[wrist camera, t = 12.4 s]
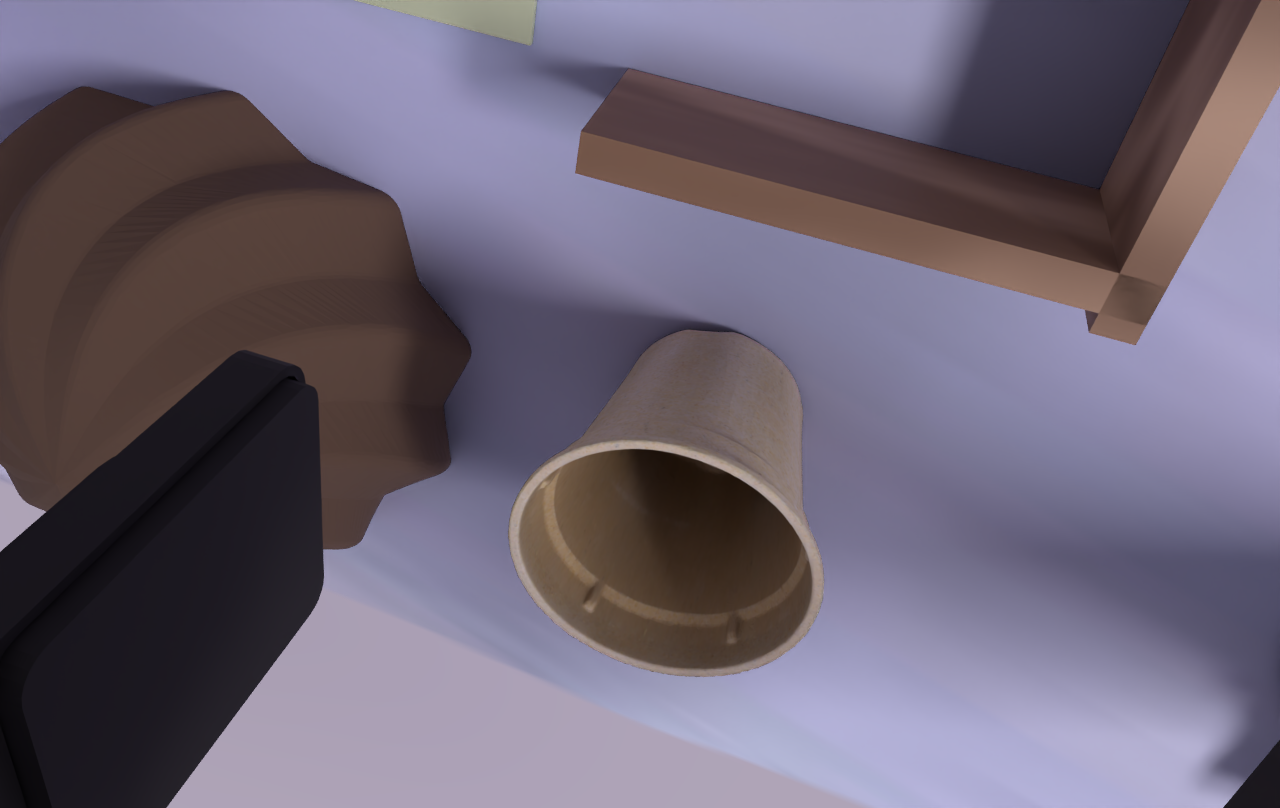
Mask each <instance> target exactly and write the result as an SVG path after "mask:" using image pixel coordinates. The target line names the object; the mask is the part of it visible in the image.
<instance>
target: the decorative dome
mask: <svg viewBox="0 0 1280 808" xmlns="http://www.w3.org/2000/svg"><path fill="white" fill-rule="evenodd" d="M241 350H248V351H251V352H254V353H258V354H261V355H264V356H267V357H271V358H274V359H277V360H280V361H284V362H287V363H290V364H293V365H296V366H298V367H300V368H301V369H302V371H303V373H304V375H305V382H306V384H308V385H311V386H313V387H315V389H316V391H317V393H318V400H319V433H320V466H321V498H322V531H323V549H346V548H350V547H353V546H355V545H357V544H358V543H359V542H360V541H361V540H362V539H363V537H364V535H365V532H366V530H367V528H368V526H369V523H370V521H371V519H372V517H373V515H374V513H375V511H376V509H377V507H378V505H379V504H380V502H381V500H382V498H383V497H384V495H386V494H388V493H390V492H393V491H395V490H398V489H400V488H403V487H405V486H408V485H410V484H413V483H416V482H419V481H421V480H424V479H427V478H430V477H433V476H436V475H438V474H441V473H442V472H444V471H445V470H446V469H447V468H448V467H449V465H450V463H451V457H450V449H449V441H448V434H447V428H446V421H445V414H444V403H445V401H446V399H447V398H448V396H449V394H450V392H451V391H452V389H453V387H454V385H455V384H456V382H457V380H458V379H459V377H460V375H461V374H462V372H463V370H464V368H465V367H466V365H467V363H468V361H469V359H470V357H471V347H470V344H469V342H468V340H467V339H466V337H465V336H464V335H463V334H462V333H461V332H460V330H459V329H458V328H457V327H456V326H455V324H454V323H453V322H452V321H451V320H450V318H449V317H448V316H447V315H446V314H445V312H444V311H443V310H442V309H441V308H440V306H439V305H438V304H437V303H436V302H435V300H434V299H433V298H432V297H431V296H430V295H429V293H428V292H427V291H426V290H425V288H424V287H423V286H422V285H421V283H420V281H419V279H418V277H417V273H416V269H415V266H414V262H413V258H412V254H411V250H410V247H409V243H408V239H407V235H406V231H405V228H404V224H403V220H402V216H401V212H400V209H399V207H398V206H397V204H396V202H395V201H394V200H393V199H392V198H391V197H390V196H389V195H387V194H386V193H384V192H383V191H380V190H378V189H375V188H373V187H371V186H368V185H366V184H363V183H361V182H358V181H356V180H353V179H351V178H348V177H346V176H344V175H341V174H339V173H336V172H334V171H332V170H329V169H327V168H324V167H322V166H319V165H317V164H314V163H312V162H310V161H309V160H307V159H306V158H305V157H304V156H303V155H302V154H301V153H300V152H299V150H298V149H297V148H296V147H295V146H294V145H293V144H292V143H291V142H290V141H289V140H288V139H287V138H286V137H285V136H284V135H283V134H282V133H281V132H280V131H279V130H278V129H277V128H276V127H275V126H274V125H273V124H272V123H271V122H270V121H269V120H268V119H267V118H266V117H265V116H264V115H263V114H262V113H261V112H260V111H259V110H258V109H257V108H256V107H255V106H254V105H253V104H252V103H251V102H250V101H249V100H248V99H247V98H245V97H244V96H242V95H241V94H239V93H236V92H233V91H220V92H214V93H209V94H204V95H199V96H194V97H189V98H184V99H180V100H176V101H173V102H169V103H165V104H161V105H157V106H151V105H148V104H144V103H141V102H138V101H134V100H131V99H128V98H125V97H121V96H118V95H115V94H111V93H108V92H105V91H101V90H98V89H95V88H91V87H79V88H77V89H75V90H73V91H71V92H69V93H68V94H66V95H64V96H63V97H61V98H60V99H58V100H56V101H55V102H53V103H52V104H50V105H48V106H47V107H45V108H44V109H43V110H41V111H40V112H38V113H37V114H36V115H34V116H33V117H31V118H30V119H29V120H27V121H26V122H25V123H24V124H22V125H21V126H20V127H19V128H18V129H16V130H15V131H14V132H13V133H12V134H11V135H9V136H8V137H7V138H6V139H5V140H4V141H3V142H2V143H1V144H0V464H1V465H2V466H3V467H4V468H5V469H6V471H7V473H8V475H9V476H10V478H11V480H12V482H13V484H14V486H15V488H16V490H17V491H18V493H19V495H20V496H21V497H22V499H23V500H25V501H26V502H27V503H28V504H30V505H32V506H35V507H37V508H39V509H42V510H44V511H46V512H47V511H48V510H49V509H50V508H52V507H53V506H54V505H55V504H56V503H57V502H58V501H60V500H61V499H62V498H63V497H64V496H65V495H66V494H68V493H69V492H70V491H71V490H72V489H73V488H75V487H76V486H77V485H78V484H79V483H80V482H81V481H83V480H84V479H85V478H86V477H87V476H88V475H90V474H91V473H92V472H93V471H94V470H95V469H96V468H98V467H99V466H100V465H102V464H103V463H105V462H106V461H108V460H109V459H111V458H112V457H115V456H116V455H117V454H118V453H120V452H121V451H122V450H123V449H124V448H125V447H127V446H128V445H129V444H130V443H131V442H132V441H133V440H135V439H136V438H137V437H138V436H139V435H140V434H141V433H143V432H144V431H145V430H146V429H147V428H148V427H149V426H151V425H152V424H153V423H154V422H155V421H156V420H157V419H159V418H160V417H161V416H162V415H163V414H164V413H166V412H167V411H168V410H169V409H170V408H171V407H172V406H174V405H175V404H176V403H177V402H178V401H179V400H180V399H182V398H183V397H184V396H185V395H186V394H187V393H188V392H190V391H191V390H192V389H193V388H194V387H195V386H197V385H198V384H199V383H200V382H201V381H202V380H203V379H205V378H206V377H207V376H208V375H209V374H210V373H211V372H213V371H214V370H215V369H216V368H217V367H218V366H219V365H221V364H222V363H223V362H224V361H225V360H226V359H227V358H229V357H230V356H231V355H233V354H234V353H236V352H237V351H241Z"/></svg>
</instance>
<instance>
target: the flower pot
mask: <svg viewBox="0 0 1280 808" xmlns="http://www.w3.org/2000/svg"><path fill="white" fill-rule="evenodd" d="M802 421H803V409H802V403H801V397H800V393H799V389H798V386H797V384H796V382H795V380H794V378H793V376H792V375H791V373H790V371H789V370H788V369H787V367H786V366H785V364H784V363H783V362H782V361H781V360H780V359H779V358H778V357H777V356H776V355H775V354H773V353H772V352H771V351H770V350H768V349H767V348H766V347H764V346H763V345H761V344H759V343H758V342H756V341H754V340H752V339H750V338H748V337H746V336H743V335H741V334H738V333H735V332H710V331H697V330H690V329H689V330H683V331H679V332H676V333H673V334H671V335H668V336H666V337H664V338H662V339H660V340H658V341H657V342H655V343H654V344H652V345H651V346H650V347H649V348H648V349H647V350H646V351H645V352H644V353H643V354H642V355H641V356H640V357H639V359H638V360H637V362H636V363H635V365H634V367H633V368H632V369H631V371H630V372H629V374H628V375H627V377H626V378H625V379H624V381H623V382H622V384H621V385H620V386H619V388H618V389H617V390H616V392H615V393H614V394H613V396H612V397H611V399H610V400H609V401H608V403H607V404H606V405H605V407H604V408H603V409H602V411H601V412H600V413H599V415H598V416H597V417H596V419H595V420H594V421H593V423H592V424H591V425H590V427H589V428H588V429H587V431H586V432H585V433H584V435H583V436H582V437H581V438H580V439H578V440H577V441H575V442H574V443H572V444H571V445H570V446H569V447H567V448H566V449H565V450H563V451H561V452H559V453H558V454H556V455H554V456H553V457H551V458H550V459H549V460H547V461H546V462H545V463H543V464H542V465H541V466H540V467H539V468H538V469H537V470H535V471H534V472H533V474H532V475H531V476H530V477H529V479H528V480H527V481H526V483H525V484H524V486H523V487H522V489H521V490H520V492H519V494H518V496H517V498H516V500H515V502H514V504H513V507H512V511H511V515H510V520H509V530H508V538H509V546H510V551H511V556H512V559H513V562H514V565H515V569H516V572H517V574H518V577H519V578H520V580H521V581H522V584H523V585H524V587H525V589H526V590H527V592H528V594H529V595H530V596H531V597H532V599H533V600H534V602H535V603H536V604H537V606H538V607H540V609H542V610H543V611H544V613H545V614H546V615H547V616H549V617H550V619H551V620H552V621H553V622H554V623H555V624H556V625H558V626H560V627H561V628H562V629H563V630H564V631H565V632H566V633H567V634H568V635H571V636H573V638H577V639H578V640H579V641H580V642H582V643H584V644H586V645H588V646H589V647H591V648H593V649H594V650H597V651H598V652H600V653H603V654H605V655H607V656H609V657H611V658H613V659H616V660H618V661H620V662H623V663H625V664H630V665H632V666H634V667H638V668H641V669H646V670H650V671H652V672H659V673H662V674H668V675H676V676H695V677H700V676H702V677H708V676H725V675H730V674H738V673H741V672H743V671H749V670H751V669H755V668H759V667H761V666H763V665H765V664H768V663H770V662H772V661H774V660H776V659H777V658H779V657H781V656H782V655H783V654H785V653H786V652H788V651H789V650H790V649H792V648H793V647H794V646H795V645H796V644H797V643H798V642H799V641H800V640H801V639H802V638H803V637H804V636H805V635H806V634H807V632H808V631H809V629H810V627H811V626H812V624H813V622H814V620H815V618H816V617H817V615H818V613H819V610H820V607H821V603H822V599H823V590H824V572H823V565H822V560H821V555H820V552H819V549H818V547H817V544H816V541H815V539H814V537H813V535H812V533H811V531H810V528H809V525H808V521H807V518H806V515H805V513H804V510H803V489H802Z"/></svg>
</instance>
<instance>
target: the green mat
mask: <svg viewBox="0 0 1280 808" xmlns="http://www.w3.org/2000/svg"><path fill="white" fill-rule="evenodd" d="M355 1H359V2H363V3H367V4H371V5H375V6H378V7H382V8H386V9H390V10H394V11H398V12H402V13H406V14H409V15H413V16H417V17H421V18H425V19H429V20H433V21H437V22H440V23H444V24H448V25H452V26H456V27H460V28H464V29H468V30H472V31H475V32H479V33H483V34H487V35H491V36H495V37H499V38H503V39H506V40H510V41H514V42H518V43H522V44H526V45H530V46H531V45H532V44H533V34H534V25H535V15H536V5H537V0H355Z"/></svg>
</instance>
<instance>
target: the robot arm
mask: <svg viewBox="0 0 1280 808" xmlns="http://www.w3.org/2000/svg"><path fill="white" fill-rule="evenodd" d="M323 581H324V564H323V531H322V498H321V466H320V433H319V400H318V393H317V391H316V389H315V387H313V386H311V385H308V384H306V382H305V375H304V373H303V371H302V369H301V368H300V367H298V366H296V365H293V364H290V363H287V362H284V361H280V360H277V359H274V358H271V357H267V356H264V355H261V354H258V353H254V352H251V351H248V350H241V351H237V352H236V353H234V354H233V355H231V356H230V357H229V358H227V359H226V360H225V361H224V362H223V363H222V364H221V365H219V366H218V367H217V368H216V369H215V370H214V371H213V372H211V373H210V374H209V375H208V376H207V377H206V378H205V379H203V380H202V381H201V382H200V383H199V384H198V385H197V386H195V387H194V388H193V389H192V390H191V391H190V392H188V393H187V394H186V395H185V396H184V397H183V398H182V399H180V400H179V401H178V402H177V403H176V404H175V405H174V406H172V407H171V408H170V409H169V410H168V411H167V412H166V413H164V414H163V415H162V416H161V417H160V418H159V419H157V420H156V421H155V422H154V423H153V424H152V425H151V426H149V427H148V428H147V429H146V430H145V431H144V432H143V433H141V434H140V435H139V436H138V437H137V438H136V439H135V440H133V441H132V442H131V443H130V444H129V445H128V446H127V447H125V448H124V449H123V450H122V451H121V452H120V453H118V454H117V455H116V456H115V457H112V458H111V459H109V460H108V461H106V462H105V463H103V464H102V465H100V466H99V467H98V468H96V469H95V470H94V471H93V472H92V473H91V474H90V475H88V476H87V477H86V478H85V479H84V480H83V481H81V482H80V483H79V484H78V485H77V486H76V487H75V488H73V489H72V490H71V491H70V492H69V493H68V494H66V495H65V496H64V497H63V498H62V499H61V500H60V501H58V502H57V503H56V504H55V505H54V506H53V507H52V508H50V509H49V510H48V511H47V512H46V513H45V514H44V515H42V516H41V517H40V518H39V519H38V520H37V521H35V522H34V523H33V524H32V525H31V526H30V527H28V529H26V530H25V531H24V532H23V533H22V534H21V535H19V536H18V537H17V538H16V539H15V540H13V541H12V542H11V543H10V544H9V545H8V546H7V547H5V548H4V549H3V550H2V551H1V552H0V808H166V807H167V806H168V805H169V803H170V802H171V801H172V799H173V798H174V796H175V795H176V794H177V793H178V791H179V790H180V789H181V787H182V786H183V785H184V783H185V782H186V781H187V779H188V778H189V776H190V775H191V774H192V772H193V771H194V770H195V768H196V767H197V766H198V764H199V763H200V762H201V760H202V759H203V758H204V756H205V755H206V754H207V752H208V751H209V750H210V748H211V747H212V746H213V744H214V743H215V742H216V740H217V739H218V738H219V736H220V735H221V734H222V732H223V731H224V729H225V728H226V727H227V725H228V724H229V723H230V721H231V720H232V719H233V717H234V716H235V715H236V713H237V712H238V711H239V709H240V708H241V707H242V705H243V704H244V703H245V701H246V700H247V699H248V697H249V696H250V694H251V693H252V692H253V691H254V689H255V688H256V687H257V685H258V684H259V683H260V681H261V680H262V678H263V677H264V676H265V674H266V673H267V672H268V670H269V669H270V668H271V666H272V665H273V663H274V662H275V661H276V660H277V658H278V657H279V656H280V654H281V653H282V651H283V650H284V649H285V648H286V646H287V645H288V644H289V642H290V641H291V639H292V638H293V637H294V636H295V634H296V633H297V631H298V630H299V629H300V627H301V626H302V625H303V623H304V622H305V621H306V619H307V618H308V617H309V615H310V614H311V612H312V611H313V609H314V608H315V606H316V604H317V601H318V599H319V596H320V594H321V591H322V587H323ZM1223 808H1280V740H1279V742H1278V743H1277V744H1276V745H1275V746H1274V748H1273V749H1272V750H1271V751H1270V752H1269V754H1268V755H1267V756H1266V757H1265V758H1264V760H1263V761H1262V762H1261V763H1260V764H1259V765H1258V767H1257V768H1256V769H1255V770H1254V771H1253V773H1252V774H1251V775H1250V776H1249V777H1248V779H1247V780H1246V781H1245V782H1244V783H1243V785H1242V786H1241V787H1240V788H1239V789H1238V791H1237V792H1236V793H1235V794H1234V795H1233V797H1232V798H1231V799H1230V800H1229V801H1228V803H1227V804H1226V805H1225V806H1224V807H1223Z"/></svg>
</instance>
